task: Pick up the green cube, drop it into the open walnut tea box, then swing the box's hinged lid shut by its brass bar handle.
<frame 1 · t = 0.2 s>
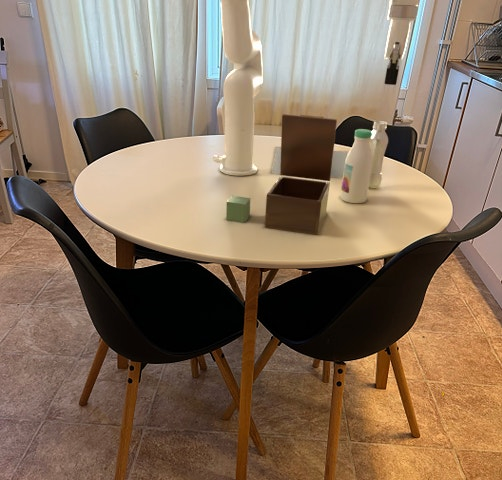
hand: (390, 82, 137), 31 cm above the table, tool pointing down, fingers open, 9 cm apart
architectural model: (312, 162, 176), on the table
milk bottle: (353, 199, 143), on the table
plastic bottle: (369, 187, 153), on the table
tea box: (296, 220, 127), on the table
tea box lid: (308, 145, 125), point 18 cm above the table, hinge at 80.0°
green cube: (238, 217, 127), on the table
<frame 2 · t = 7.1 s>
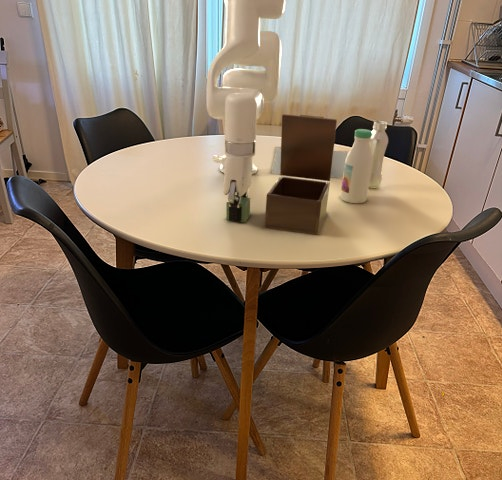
hand: (238, 216, 126), 0 cm above the table, tool pointing down, fingers closed on green cube, 5 cm apart
green cube: (238, 217, 127), on the table, touching gripper
everything else where it was.
when the fingers open (7 cm above the table, at t = 14.2 s): green cube drops 6 cm, resting on tea box.
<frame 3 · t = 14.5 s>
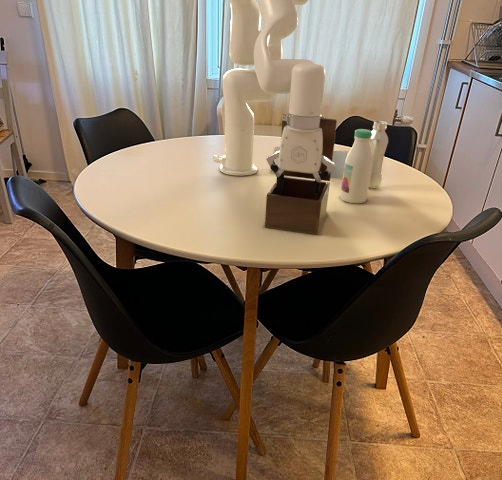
hand: (297, 193, 121), 8 cm above the table, tool pointing down, fingers open, 8 cm apart
green cube: (294, 220, 124), point 1 cm above the table, touching tea box
everything else where it was.
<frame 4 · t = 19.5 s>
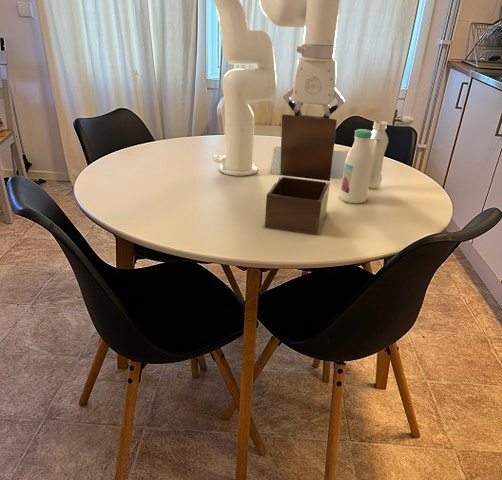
hand: (310, 129, 124), 22 cm above the table, tool pointing down, fingers closed on tea box lid, 6 cm apart
tea box lid: (308, 145, 125), point 18 cm above the table, hinge at 80.0°, touching gripper
everything else where it was.
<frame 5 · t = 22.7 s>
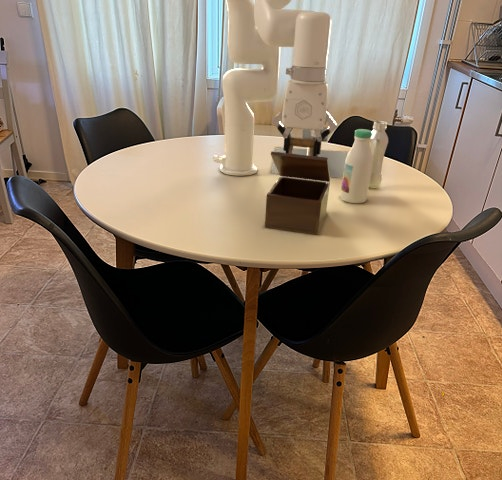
hand: (301, 154, 116), 18 cm above the table, tool pointing down, fingers closed on tea box lid, 6 cm apart
tea box lid: (303, 158, 121), point 16 cm above the table, hinge at 34.2°, touching gripper
everything else where it was.
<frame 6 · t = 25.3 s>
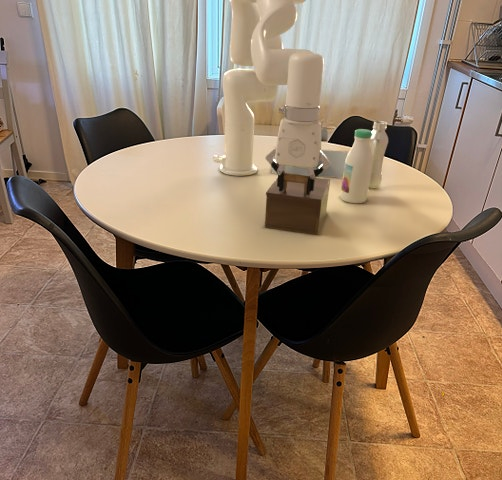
hand: (295, 190, 116), 10 cm above the table, tool pointing down, fingers closed on tea box lid, 6 cm apart
tea box lid: (300, 178, 121), point 12 cm above the table, hinge at -0.2°, touching gripper, tea box
everything else where it was.
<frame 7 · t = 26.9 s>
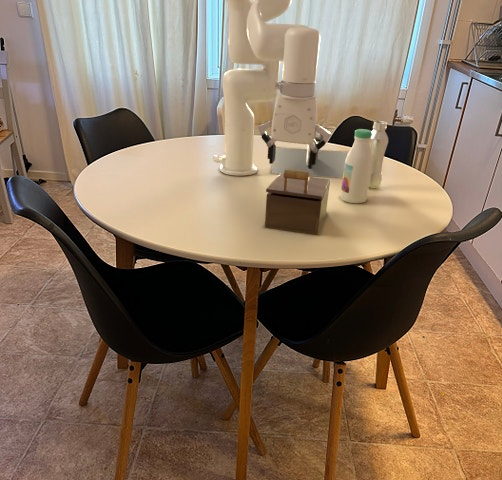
hand: (291, 164, 117), 16 cm above the table, tool pointing down, fingers open, 9 cm apart
tea box lid: (300, 176, 121), point 12 cm above the table, hinge at 2.8°
everything else where it was.
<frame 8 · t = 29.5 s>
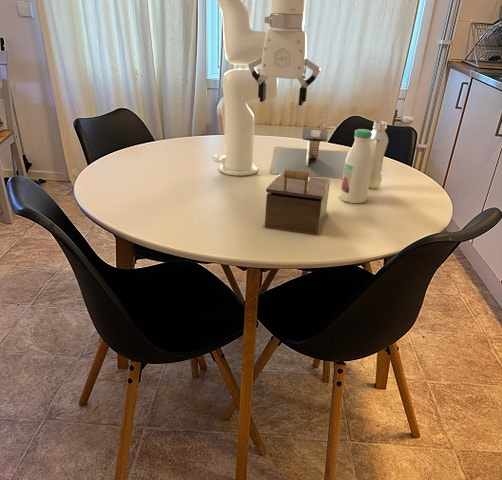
hand: (281, 102, 117), 28 cm above the table, tool pointing down, fingers open, 9 cm apart
nothing on the table moved.
at the end: green cube inside the target area in the tea box (2.5 cm from its centre), point 0.8 cm above the tea box's base; tea box lid at +3° (first picture: +80°); the gripper is holding nothing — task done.
